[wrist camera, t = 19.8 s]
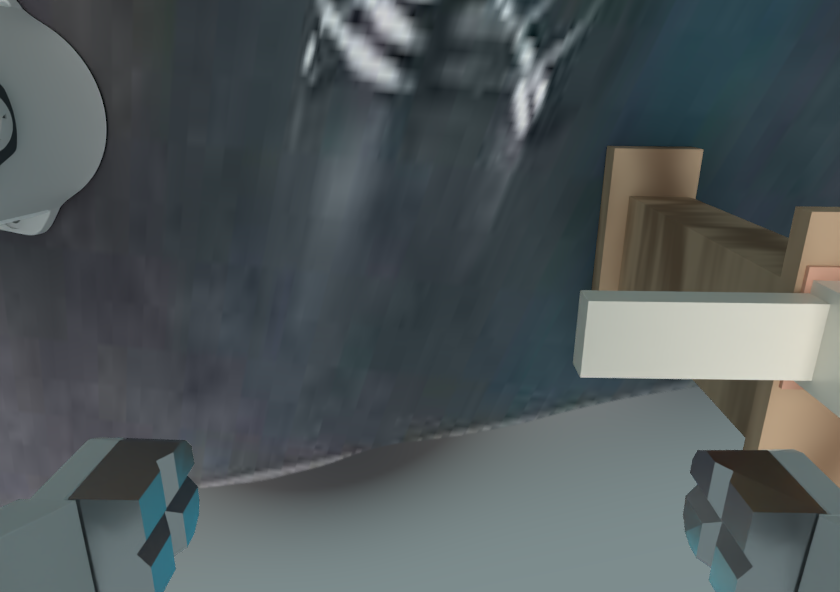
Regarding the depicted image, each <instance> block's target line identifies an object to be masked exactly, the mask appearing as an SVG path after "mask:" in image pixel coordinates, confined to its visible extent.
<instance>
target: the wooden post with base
mask: <svg viewBox="0 0 840 592" xmlns="http://www.w3.org/2000/svg"><path fill="white" fill-rule="evenodd" d="M702 156H703V149H700V148H695V147H660V146H607V153H606V162H605V171H604V181H603V190H602V199H601V208H600V217H599V226H598V236H597V245H596V254H595V263H594V272H593V281H592V290H597V291H675V292H753V293H810V291H811V287H812V283H813V280H821V281H840V207H796V208H795V212H794V217H793V222H792V226H791V231H790V235H789V238H787V237H785V236H782V235H780V234H778V233H775V232H773V231H770V230H768V229H766V228H763V227H761V226H758V225H756V224H753V223H751V222H749V221H746V220H744V219H741V218H739V217H737V216H734V215H732V214H729V213H727V212H725V211H722V210H720V209H717V208H715V207H713V206H710V205H708V204H705V203H703V202H701V201H698V200H696V193H697V187H698V180H699V174H700V168H701V162H702ZM693 380H694V381H695V383H696V384H697V385H698V386H699V387H700V388H701V389H702V390H703V391H704V392H705V394H706V395H707V396H708V397H709V398H710V399H711V400H712V401H713V402H714V403H715V405H716V406H717V407H718V408H719V409H720V410H721V411H722V412H723V414H724V415H725V416H726V417H727V418H728V419H729V420H730V421H731V422H732V423H733V425H735V427H736V428H737V429H738V430H739V431H740V432H741V433H742V434H743V436H744V437H745V443H744V447H743V450H773V449H795V450H797V451H799V452H802V453H804V454H805V455H806V456H807V457H808V458H809V459H810V460H811V461H812V462H813V463H814V464H815V465H816V466H817V467H818V468H819V469H820V470H821V471H822V472H823V473H824V474H825V475H826V476H827V477H828V478H829V479H830V480H831V481H832V482H833V483H834V484H836V485H837V486H838V487H839V488H840V418H839V417H838V416H837V415H835V414H834V413H833V412H832V411H831V410H829V409H828V408H827V407H826V406H824V405H823V404H822V403H821V402H819V401H818V400H817V399H816V398H814V397H813V396H812V395H811V394H809V393H808V392H807V391H806V390H804V389H803V388H802V387H801V386H799V385H798V384H797V383H796V382H794V381H793V380H724V379H693Z"/></svg>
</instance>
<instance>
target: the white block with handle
mask: <svg viewBox="0 0 840 592" xmlns="http://www.w3.org/2000/svg"><path fill="white" fill-rule="evenodd" d="M573 364H574V366H575V368H576V370H577V372H578V374H579V376H580V377H585V378H655V379H724V380H793V381H794V382H796V383H797V384H798V385H799V386H801V387H802V388H803V389H804V390H806V391H807V392H808V393H809V394H811V395H812V396H813V397H814V398H816V399H817V400H818V401H819V402H821V403H822V404H823V405H824V406H826V407H827V408H828V409H829V410H831V411H832V412H833V413H834V414H835V415H837V416H838V417H839V418H840V281H821V280H813V283H812V287H811V291H810V293H753V292H675V291H597V290H580V299H579V309H578V319H577V329H576V338H575V348H574V358H573Z"/></svg>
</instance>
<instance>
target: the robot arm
mask: <svg viewBox="0 0 840 592" xmlns="http://www.w3.org/2000/svg"><path fill="white" fill-rule="evenodd" d="M105 143H106V116H105V110H104V105H103V101H102V98H101V95H100V92H99V89H98V87H97V84H96V82H95V80H94V78H93V76H92V74H91V73H90V71H89V69H88V68H87V66H86V65H85V63H84V62H83V60H82V59H81V58H80V56H79V55H78V54H77V53H76V51H75V50H74V49H73V48H72V47H71V46H70V45H69V44H68V43H67V42H66V41H65V40H64V39H63V38H62V37H61V36H59V35H58V34H57V33H56V32H54V31H53V30H52V29H50V28H49V27H47V26H46V25H44V24H43V23H41V22H39V21H38V20H36V19H35V18H33V17H32V16H31V15H29V14H28V13H27V12H26V11H25V10H23V9H22V7H21V6H20V4H19V3H18V2H17V1H16V0H0V230H4V231H9V232H14V233H19V234H24V235H37V234H42V233H45V232H46V231H47V230H48V229H49V228H50V227H51V225H52V224H53V222H54V220H55V218H56V216H57V214H58V211H59V209H60V207H61V206H62V205H63V203H65V202H66V201H67V200H68V199H69V198H71V197H72V196H73V195H75V194H76V193H77V192H79V191H80V190H81V189H82V188H83V187H84V186H85V185H86V184H87V183H88V182H89V181H90V180H91V178H92V177H93V175H94V174H95V172H96V170H97V169H98V167H99V164H100V162H101V159H102V156H103V153H104V149H105ZM18 220H20V221H18ZM194 464H195V462H194V456H193V451H192V446H191V445H190V444H189V443H188V442H187V441H186V440H164V439H138V438H126V439H125V438H93V439H89V440H88V441H87V442H86V443H85V444H84V445H83V446H82V447H81V448H80V449H79V450H78V451H77V452H76V453H75V454H74V455H73V456H72V457H71V458H70V459H69V460H68V461H67V462H66V463H65V464H64V465H63V466H62V467H61V468H60V469H59V470H58V471H57V472H56V473H55V474H54V475H53V476H52V477H51V478H50V479H49V480H48V481H47V482H46V483H45V484H44V485H43V486H42V487H41V488H40V489H39V490H38V491H37V492H36V493H35V494H34V495H33V496H32V497H31V498H30V499H18V500H16V501H14V502H12V503H10V504H7V505H5V506H3V507H1V508H0V592H164V590H165V588H166V586H167V585H168V583H169V581H170V579H171V577H172V575H173V574H174V572H175V570H176V567H175V561H174V556H175V555H177V554H178V553H180V552H181V551H183V550H184V549H186V548H187V547H188V545H189V543H190V541H191V539H192V537H193V535H194V533H195V529H196V525H197V521H198V517H199V501H200V500H199V493H198V487H197V485H196V484H195V483H194V482H193V481H192V480H191V479H190V478H189V477H188V476H187V475H188V474H189V472H190V471H191V469H192V467H193V466H194ZM690 473H691V475H692V476H693V478H694V480H695V481H696V483H697V484H698V485H697V486H696V487H694V488H693V489H692V490H691V491H690V492H689V493H688V494H687V495H686V498H685V505H684V511H683V518H684V527H685V534H686V537H687V540H688V543H689V545H690V547H691V549H692V551H693V553H694V555H695V556H696V558H697V559H699V560H700V561H702V562H703V563H705V564H706V565H707V566H709V567H710V568H711V571H710V576H709V582H710V583H711V585H712V587H713V589H714V590H715V592H840V488H839V487H838V486H837V485H836V484H834V483H833V482H832V481H831V480H830V479H829V478H828V477H827V476H826V475H825V474H824V473H823V472H822V471H821V470H820V469H819V468H818V467H817V466H816V465H815V464H814V463H813V462H812V461H811V460H810V459H809V458H808V457H807V456H806V455H805V454H804V453H802V452H799V451H797V450H795V449H773V450H698V451H697V452H696V454H695V456H694V458H693V460H692V465H691V471H690Z"/></svg>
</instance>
